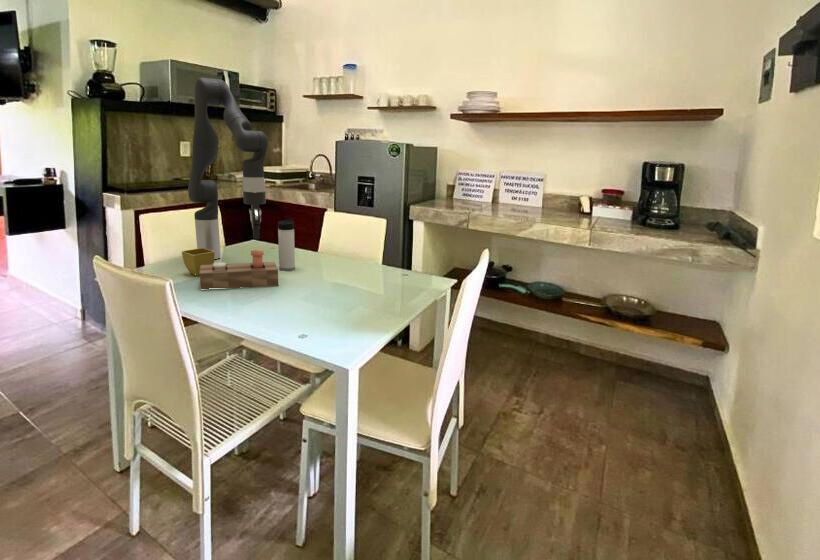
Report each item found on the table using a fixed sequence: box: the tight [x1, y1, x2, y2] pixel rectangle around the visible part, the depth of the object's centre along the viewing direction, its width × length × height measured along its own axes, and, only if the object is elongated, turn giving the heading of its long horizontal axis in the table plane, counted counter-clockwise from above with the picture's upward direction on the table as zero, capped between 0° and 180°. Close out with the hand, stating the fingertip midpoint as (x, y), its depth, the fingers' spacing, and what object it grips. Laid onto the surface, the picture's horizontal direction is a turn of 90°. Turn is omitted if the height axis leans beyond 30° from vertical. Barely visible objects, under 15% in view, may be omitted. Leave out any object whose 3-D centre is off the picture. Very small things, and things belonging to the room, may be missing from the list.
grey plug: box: [213, 261, 227, 270], centre depth 172 cm, size 4×4×7 cm
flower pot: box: [180, 248, 215, 276], centre depth 184 cm, size 9×9×9 cm
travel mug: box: [277, 218, 296, 272], centre depth 195 cm, size 6×7×20 cm
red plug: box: [250, 249, 265, 269], centre depth 176 cm, size 4×4×7 cm
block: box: [199, 261, 279, 290], centre depth 175 cm, size 12×26×6 cm, turn 111°
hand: (256, 238), depth 174 cm, fingers closed
